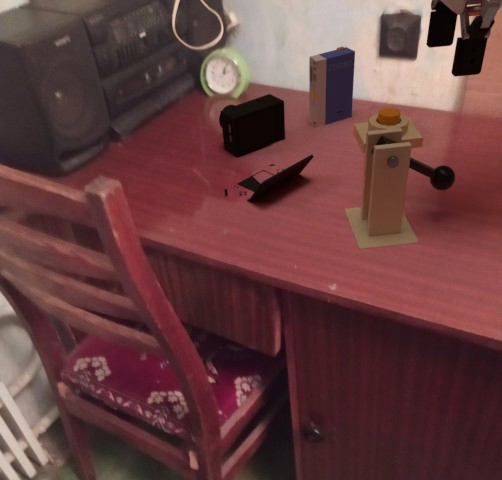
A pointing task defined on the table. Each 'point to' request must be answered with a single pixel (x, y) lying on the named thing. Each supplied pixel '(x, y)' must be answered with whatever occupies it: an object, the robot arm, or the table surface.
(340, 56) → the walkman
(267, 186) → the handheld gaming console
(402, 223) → the switch bracket
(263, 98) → the digital camera
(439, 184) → the switch lever
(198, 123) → the table surface
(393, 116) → the button
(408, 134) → the button block
